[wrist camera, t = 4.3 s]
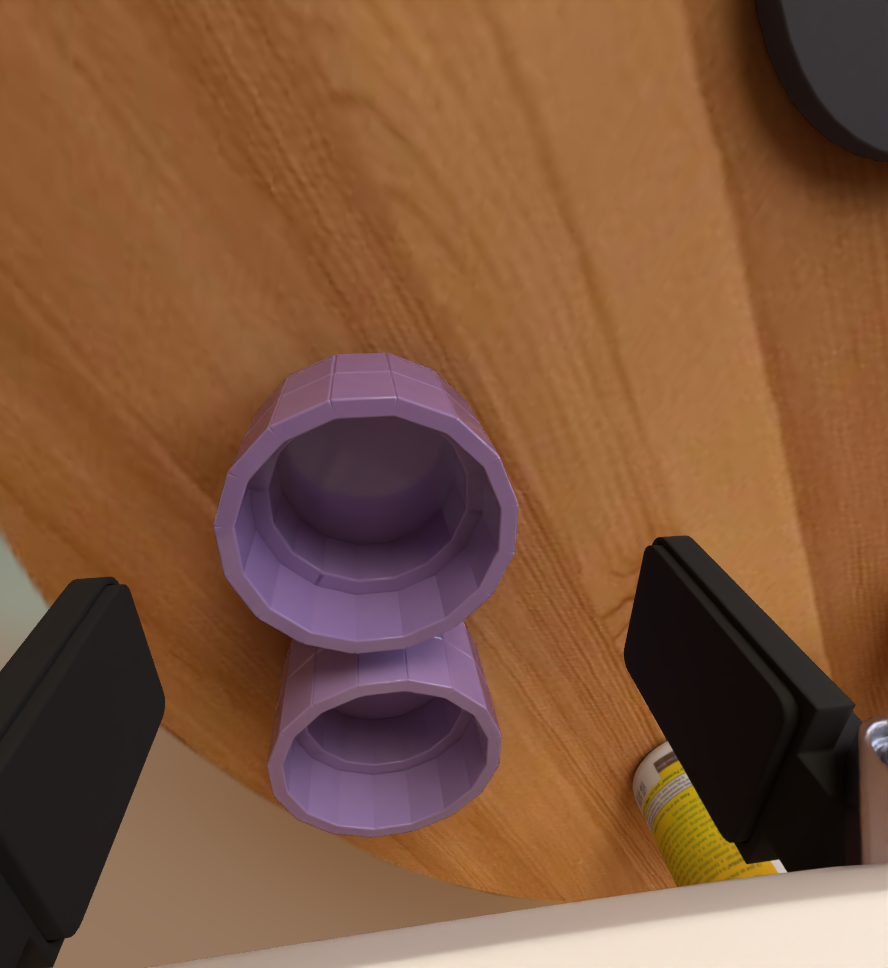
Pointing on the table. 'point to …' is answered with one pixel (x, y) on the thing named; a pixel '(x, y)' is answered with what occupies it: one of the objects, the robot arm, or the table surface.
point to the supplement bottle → (687, 825)
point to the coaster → (834, 66)
